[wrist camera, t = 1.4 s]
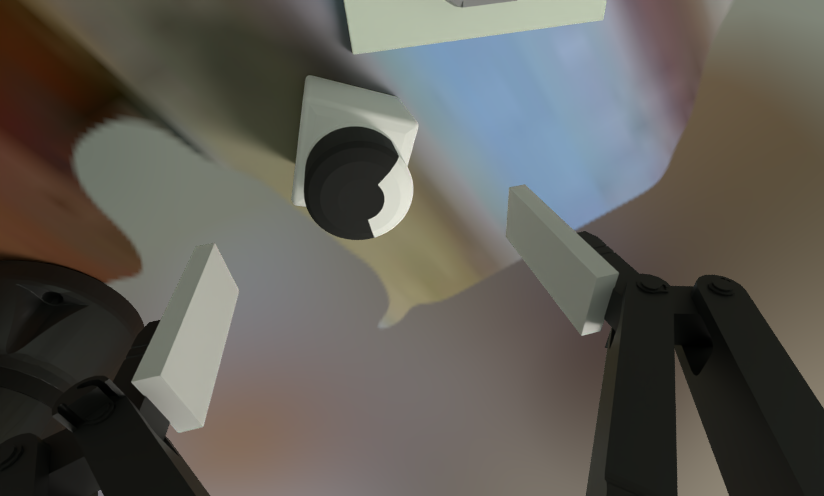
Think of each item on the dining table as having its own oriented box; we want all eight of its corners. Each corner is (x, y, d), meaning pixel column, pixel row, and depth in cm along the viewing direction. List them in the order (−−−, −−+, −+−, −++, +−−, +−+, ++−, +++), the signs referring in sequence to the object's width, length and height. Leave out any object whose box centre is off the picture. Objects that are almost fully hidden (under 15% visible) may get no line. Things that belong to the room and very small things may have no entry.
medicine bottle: (295, 165, 30) (285, 247, 20) (306, 72, 26) (300, 120, 17) (379, 180, 32) (406, 260, 23) (400, 96, 29) (442, 150, 19)
